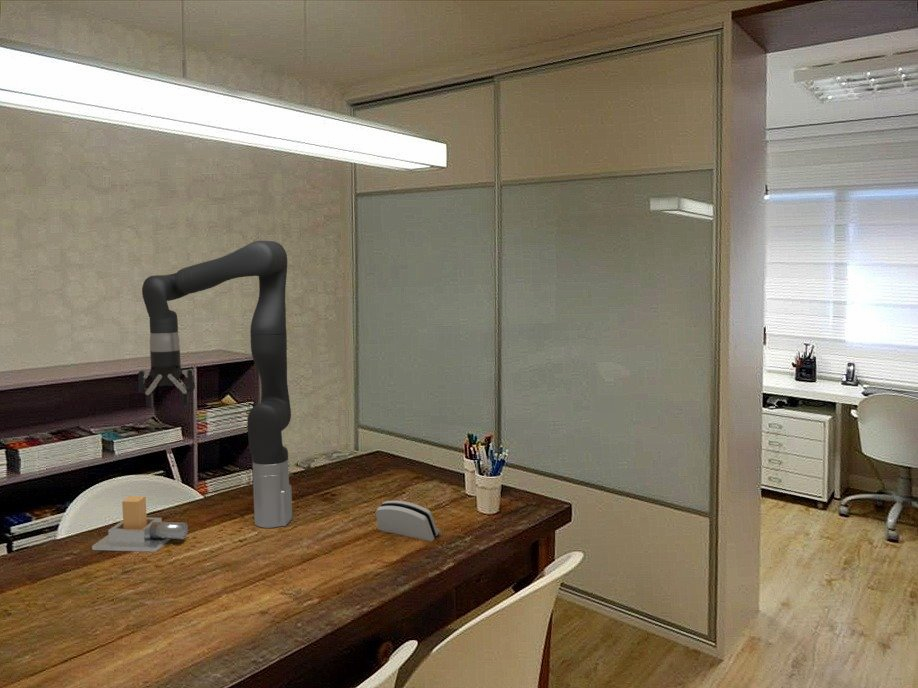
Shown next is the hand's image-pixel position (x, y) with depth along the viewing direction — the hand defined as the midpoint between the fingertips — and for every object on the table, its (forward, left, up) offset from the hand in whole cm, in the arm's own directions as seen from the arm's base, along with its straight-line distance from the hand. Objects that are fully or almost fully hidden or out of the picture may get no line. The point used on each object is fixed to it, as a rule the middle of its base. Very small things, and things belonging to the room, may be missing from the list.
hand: (167, 407), depth 195 cm
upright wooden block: (0, +20, -30) cm, 36 cm away
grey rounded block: (-67, +11, -30) cm, 75 cm away
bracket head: (-2, +20, -30) cm, 36 cm away
